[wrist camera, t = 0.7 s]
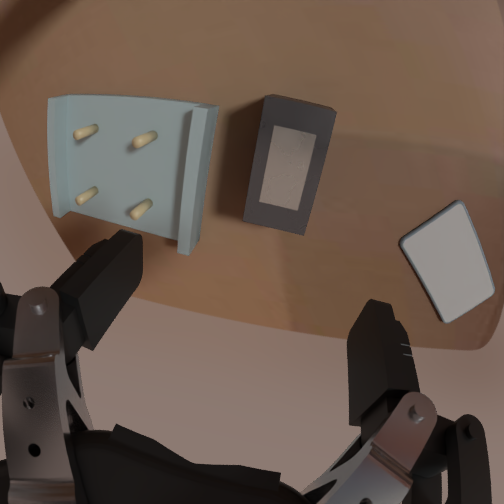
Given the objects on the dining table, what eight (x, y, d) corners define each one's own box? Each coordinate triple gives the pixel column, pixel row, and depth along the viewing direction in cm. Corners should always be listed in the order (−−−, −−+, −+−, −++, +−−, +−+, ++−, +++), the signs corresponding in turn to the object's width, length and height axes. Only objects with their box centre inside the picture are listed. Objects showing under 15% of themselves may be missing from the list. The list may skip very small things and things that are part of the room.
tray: (67, 94, 24) (41, 99, 21) (219, 105, 24) (203, 109, 20) (69, 204, 32) (48, 219, 28) (199, 239, 31) (185, 261, 28)
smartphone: (462, 198, 23) (496, 293, 27) (458, 194, 24) (493, 288, 28) (397, 242, 27) (444, 326, 31) (395, 237, 28) (442, 321, 32)
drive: (273, 93, 23) (265, 95, 18) (331, 107, 22) (336, 112, 18) (252, 202, 28) (241, 226, 24) (303, 215, 28) (302, 241, 24)
